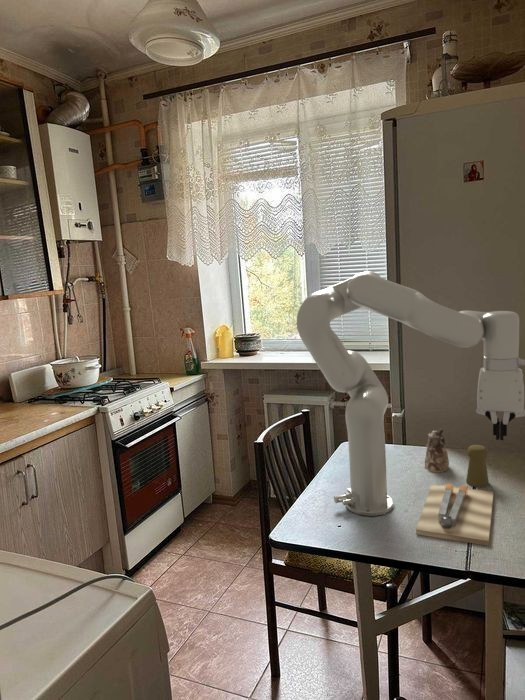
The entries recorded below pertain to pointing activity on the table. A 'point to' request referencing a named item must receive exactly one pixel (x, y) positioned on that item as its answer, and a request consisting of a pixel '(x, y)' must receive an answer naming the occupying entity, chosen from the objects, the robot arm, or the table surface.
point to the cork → (477, 466)
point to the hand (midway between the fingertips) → (499, 438)
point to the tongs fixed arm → (446, 501)
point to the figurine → (436, 453)
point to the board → (471, 519)
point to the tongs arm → (455, 509)
